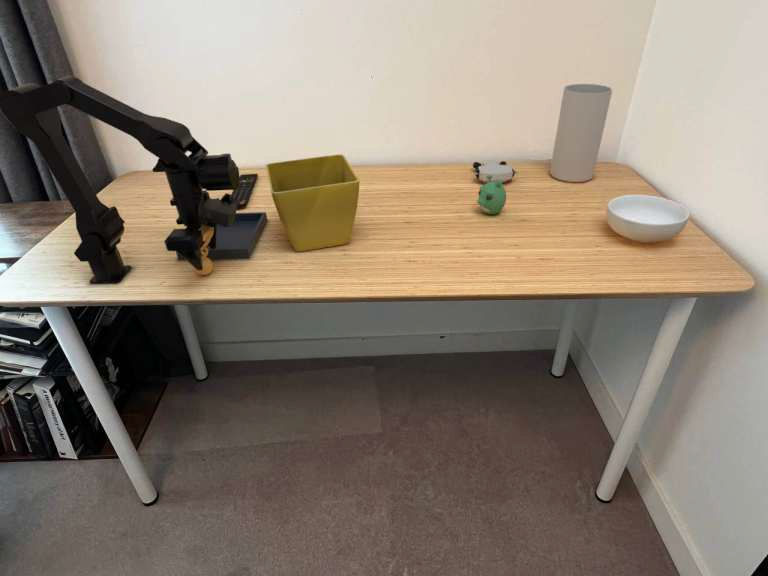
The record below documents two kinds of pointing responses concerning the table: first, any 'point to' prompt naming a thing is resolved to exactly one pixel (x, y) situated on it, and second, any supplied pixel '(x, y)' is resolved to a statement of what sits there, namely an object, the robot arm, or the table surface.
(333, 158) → the flower pot
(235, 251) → the tray
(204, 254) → the figurine
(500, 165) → the robot toy
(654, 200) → the cereal bowl
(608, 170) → the table surface
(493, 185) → the alien toy
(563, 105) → the cylinder vase
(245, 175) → the remote control
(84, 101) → the robot arm
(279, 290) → the table surface
